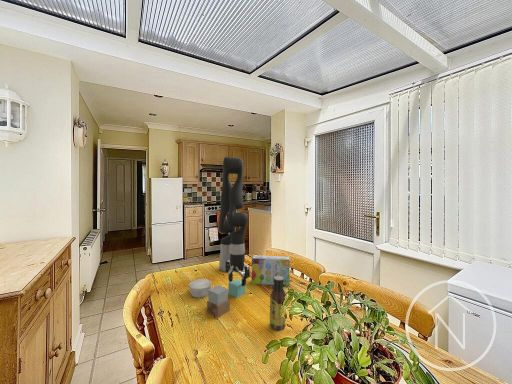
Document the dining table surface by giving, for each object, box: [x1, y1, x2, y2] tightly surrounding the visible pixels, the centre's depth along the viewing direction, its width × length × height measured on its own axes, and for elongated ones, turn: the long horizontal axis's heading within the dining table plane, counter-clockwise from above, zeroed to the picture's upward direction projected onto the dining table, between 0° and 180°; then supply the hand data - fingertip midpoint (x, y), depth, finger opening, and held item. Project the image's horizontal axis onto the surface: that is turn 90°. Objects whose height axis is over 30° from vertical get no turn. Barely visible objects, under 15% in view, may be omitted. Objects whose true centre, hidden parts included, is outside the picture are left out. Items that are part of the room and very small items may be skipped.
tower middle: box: [207, 284, 229, 306], centre depth 101 cm, size 6×6×5 cm
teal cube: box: [228, 278, 246, 299], centre depth 117 cm, size 6×6×6 cm
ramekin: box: [188, 278, 213, 298], centre depth 117 cm, size 11×11×5 cm
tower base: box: [206, 298, 231, 319], centre depth 101 cm, size 7×7×5 cm
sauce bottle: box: [269, 276, 287, 331], centre depth 91 cm, size 6×6×20 cm
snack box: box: [251, 254, 291, 287], centre depth 130 cm, size 21×6×15 cm, turn 84°
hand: (237, 283), depth 117 cm, fingers open, 8 cm apart
